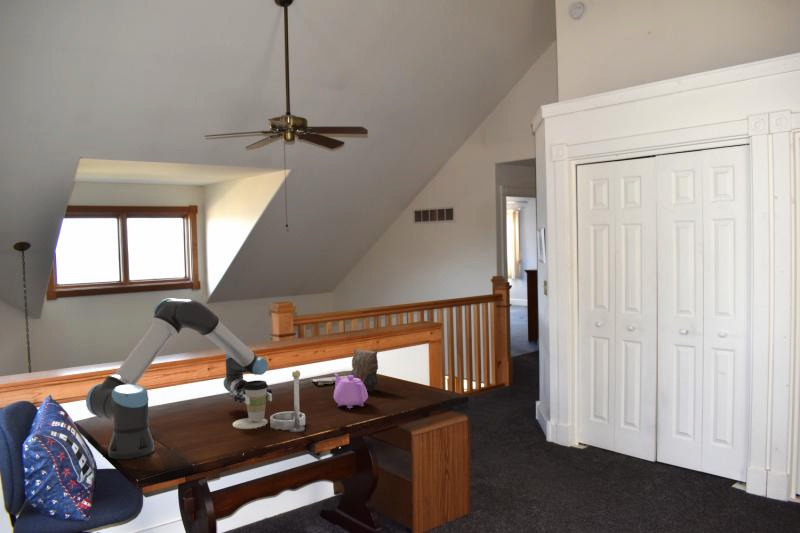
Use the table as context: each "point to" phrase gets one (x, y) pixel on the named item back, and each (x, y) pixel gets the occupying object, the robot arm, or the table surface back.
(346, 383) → the teapot
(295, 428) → the ring stand
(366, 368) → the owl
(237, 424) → the cream pad
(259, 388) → the coffee cup
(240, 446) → the table surface
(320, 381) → the newspaper
